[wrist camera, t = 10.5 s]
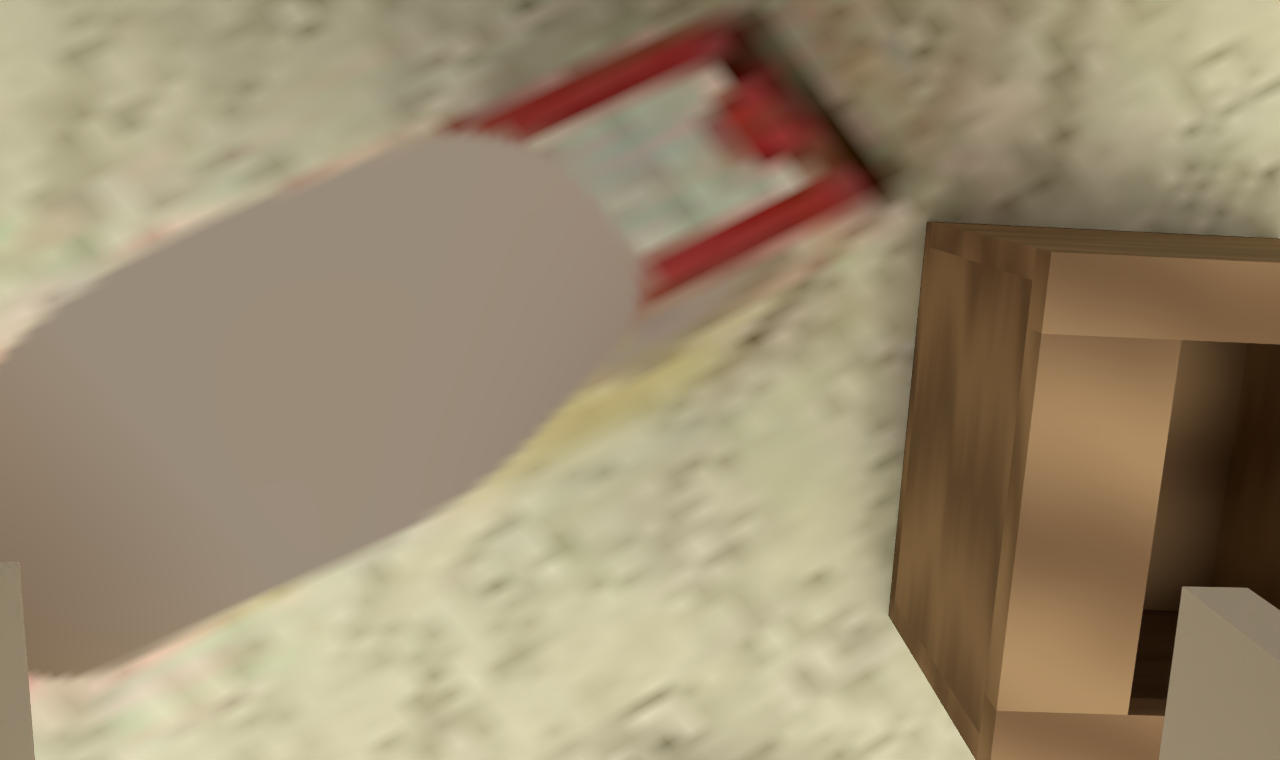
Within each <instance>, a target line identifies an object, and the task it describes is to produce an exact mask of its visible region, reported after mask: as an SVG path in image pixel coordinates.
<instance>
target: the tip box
mask: <svg viewBox="0 0 1280 760" xmlns="http://www.w3.org/2000/svg"><path fill="white" fill-rule="evenodd" d="M1182 586H1186V587H1234V588H1249V589H1250V590H1251V591H1253V592H1254V593H1256V594H1257V595H1259V596H1260V597H1261V598H1263V599H1264V600H1266V601H1267V602H1269V603H1270V604H1271V605H1273V606H1274V607H1276V608H1277V609H1279V610H1280V239H1275V238H1254V237H1234V236H1213V235H1193V234H1173V233H1152V232H1132V231H1111V230H1091V229H1070V228H1050V227H1029V226H1009V225H988V224H968V223H947V222H927V229H926V239H925V249H924V259H923V269H922V279H921V290H920V300H919V310H918V320H917V330H916V341H915V351H914V361H913V371H912V381H911V392H910V402H909V412H908V422H907V432H906V443H905V453H904V463H903V473H902V483H901V494H900V504H899V514H898V524H897V534H896V544H895V555H894V565H893V575H892V585H891V595H890V606H889V617H890V619H891V620H892V622H893V624H894V625H895V627H896V629H897V630H898V632H899V634H900V635H901V637H902V639H903V640H904V642H905V644H906V645H907V647H908V649H909V650H910V652H911V654H912V655H913V657H914V658H915V660H916V662H917V663H918V665H919V667H920V668H921V670H922V672H923V673H924V675H925V677H926V678H927V680H928V682H929V683H930V685H931V687H932V688H933V690H934V692H935V693H936V695H937V697H938V698H939V700H940V702H941V703H942V705H943V706H944V708H945V710H946V711H947V713H948V715H949V716H950V718H951V720H952V721H953V723H954V725H955V726H956V728H957V730H958V731H959V733H960V735H961V736H962V738H963V740H964V741H965V743H966V745H967V746H968V748H969V750H970V751H971V753H972V754H973V756H974V758H975V759H976V760H1159V755H1160V747H1161V740H1162V733H1163V725H1164V718H1165V710H1166V703H1167V696H1168V688H1169V681H1170V673H1171V666H1172V659H1173V651H1174V644H1175V637H1176V629H1177V622H1178V614H1179V607H1180V600H1181V592H1182Z"/></svg>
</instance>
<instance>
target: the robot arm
mask: <svg viewBox="0 0 1280 760" xmlns="http://www.w3.org/2000/svg"><path fill="white" fill-rule="evenodd" d="M0 760H35V756H34V743H33V730H32V718H31V705H30V692H29V679H28V667H27V654H26V641H25V628H24V617H23V603H22V590H21V577H20V564H19V562H0ZM1159 760H1280V610H1279V609H1277V608H1276V607H1274V606H1273V605H1271V604H1270V603H1269V602H1267V601H1266V600H1264V599H1263V598H1261V597H1260V596H1259V595H1257V594H1256V593H1254V592H1253V591H1251V590H1250V589H1249V588H1234V587H1186V586H1182V592H1181V600H1180V607H1179V614H1178V622H1177V629H1176V637H1175V644H1174V651H1173V659H1172V666H1171V673H1170V681H1169V688H1168V696H1167V703H1166V710H1165V718H1164V725H1163V733H1162V740H1161V747H1160V755H1159Z"/></svg>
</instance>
